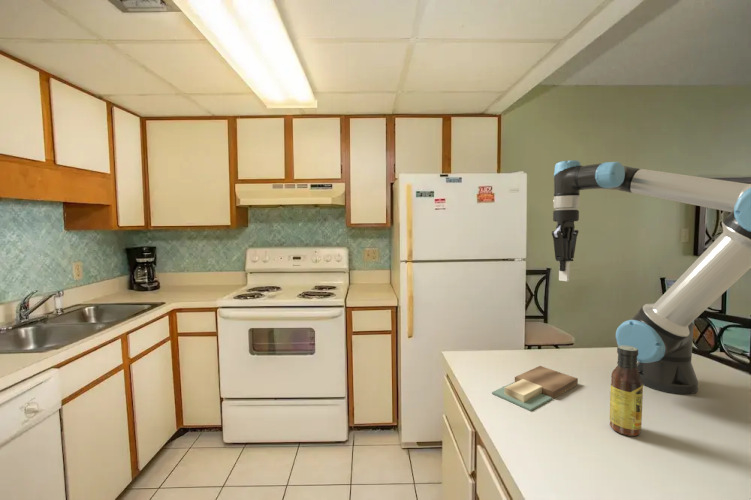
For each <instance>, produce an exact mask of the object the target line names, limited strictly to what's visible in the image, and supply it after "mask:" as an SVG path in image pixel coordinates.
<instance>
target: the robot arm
mask: <svg viewBox="0 0 751 500" xmlns="http://www.w3.org/2000/svg"><path fill="white" fill-rule="evenodd" d="M585 190H613V191H621V192H625V193H630V194H631V193H632V194H637V195H642V196H647V197H652V198H657V199H663V200H667V201H673V202H677V203H683V204H688V205H692V206H693V205H694V206H699V207H703V208H709V209H713V210H717V211H718V210H719V211H723V212H728V213H729V214H728V215H727V216H726V217H725V218H724V219H723V220H722V222H721V226H722V230H723V231H722V233H721V234H720V235H719V236H718V237H717V238H716V239H714V241H713V242H712V243H711V244H710V245H709V246H708V247H707V249H706V250H705V251H703V252H702V254H700V255H699V257H698V258H697V259H696V260H695V261H694V262H693V263H692V264H691V265H690V266H689V267H688V268H687V269H686V271H684V273H683V274H681V275H680V277H679V278H678V279H677V280H676V281H674V283H673V284H672V285H670V287H669V288H668V289H667V290H666V291H665V292H664V294H662V295H661V296H660V297H659V298H658V299H657V301H655V303H645V304H644V305H643V306H641V307H640V309H638V311H637V312H636V313H635V314H634V315H633V316H632V317H631V318H630V319H629V320H625V321H623V322H622V323H620V325H619V326H618V327H617V329H616V331H615V339H616V344H617V347H618V346H620V345H626V346H631V347H635V348H637V349H638V356H637V368H638V371H639V374H640V377H641V379H642V382H643V386H646V387H648V388H650V389H651V388H652V389H654V390H658V391H662V392H665V393H671V394H677V395H678V394H680V395H690V394H691V395H692V394H694V393H697V392H698V389H699V381H698V378H697V377H698V376H697V375H696V372H695V370H694V369H695V368H694V366H693V364H692V353H693V343H694V342H693V341H694V339H693V337H694V326H695V320H696V319H697V318H699V317H700V315H701V314H703V313H704V311H706V310H707V309H708V308H709V307H710V306H711V305H712V304H713V303H715V302H716V301H717V300H718V299H719V298H720V297H722V295H723V294H724V293H725V292H727V290H729V288H730V287H733V285H734V284H735V283H736V282H737V281H739V279H740V278H741V277H742V276H743V275H745V274H746V273H747V272H748V271H749V270H750V269H751V183H746V182H737V181H730V180H724V179H717V178H709V177H704V176H703V177H701V176H694V175H687V174H680V173H676V172H675V173H673V172H668V171H667V172H666V171H661V170H660V171H658V170H651V169H645V168H637V167H632V166H628V165H627V166H626V165H622V163H621V162H620V161H606V162H601V163H600V162H599V163H595V164H594V163H593V164H587V165H581V161H580V160H571V159H570V160H562V161H559V162H557V163H555V165H554V173H553V200H552V203H553V209H554V210H553V212H552V221H553V222H556V226H555V230H553V231H551V236H552V239H553V247H554V258H555V261H556V262H558V263H559V264H558V265H559V267H558V281H560V282H561V281H562V282H570V274H571V273H570V271H571V270H570V268H571V265H570V264H571V262H573V261H574V257H575V252H576V245H577V238H578V236H579V235H578V234H579V230H578V229H575V222H578V221H579V220H580V211H579V210H578V209H580V197H581V196H580V192H581V191H585Z"/></svg>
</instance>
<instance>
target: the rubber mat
mask: <svg viewBox="0 0 751 500" xmlns="http://www.w3.org/2000/svg"><path fill="white" fill-rule="evenodd" d="M513 383H515V381H514V382H511V383H509V384H507V385H505V386H502V387H500V388H498V389H496V390H493V391H491V394H492V395H494V396H495V397H498V398H500V399H503V400H504V401H507V402H508V403H511V404H513V405H516V406H518V407H521V408H522V409H524V410H527V411H529V412H532V411H534V410H536V409H537V408H539V407H541V406H542V405H544V404H546V403H548V402H550V401H551V400H553V399H552V397H549V396H547V395H544V394H542V393H541V394H539V395H537V396H535V397H533V398H532V399H530V400H528V401H526V402H524V403H523V402H521V401H519V400H517V399H514V398H512V397H510V396H508V395H505V387H507V386H509V385H511V384H513Z"/></svg>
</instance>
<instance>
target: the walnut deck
mask: <svg viewBox="0 0 751 500" xmlns="http://www.w3.org/2000/svg"><path fill="white" fill-rule="evenodd" d="M522 379H524V380H527V381H530V382H532V383H535V384H537V385H540V386H542V394H544V395H547V396H549V397H552V400H553V399H555V398H557V397H558V396H561V395H562V394H564V393H566V392H568V391H569V390H571V389H573V388H575V387H576V386H578V383H579V379H578V378H577V377H575V376H571V375H569V374H565V373H562V372H560V371H557V370H553V369H551V368H548V367H545V366H542V365H539V366H537V367H534V368H531V369H530V370H528V371H525V372H523V373H521V374H519V375H516V376H514V383H515V382H518V381H520V380H522Z"/></svg>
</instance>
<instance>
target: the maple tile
mask: <svg viewBox="0 0 751 500" xmlns="http://www.w3.org/2000/svg"><path fill="white" fill-rule="evenodd" d="M512 383H513V382H512ZM510 384H511V383H510ZM508 385H509V384H508ZM506 386H507V385H506ZM541 393H542V386H540V385H537V384H535V383H532V382H530V381H527V380H524V379H522V380H520V381H518V382H515V381H514V383H513V384H511V385H509V386H507V387H505V395H508V396H510V397H512V398H514V399H517V400H519V401H521V402H523V403H524V402H526V401H528V400H530V399H532V398H533V397H535V396H537V395H539V394H541Z"/></svg>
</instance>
